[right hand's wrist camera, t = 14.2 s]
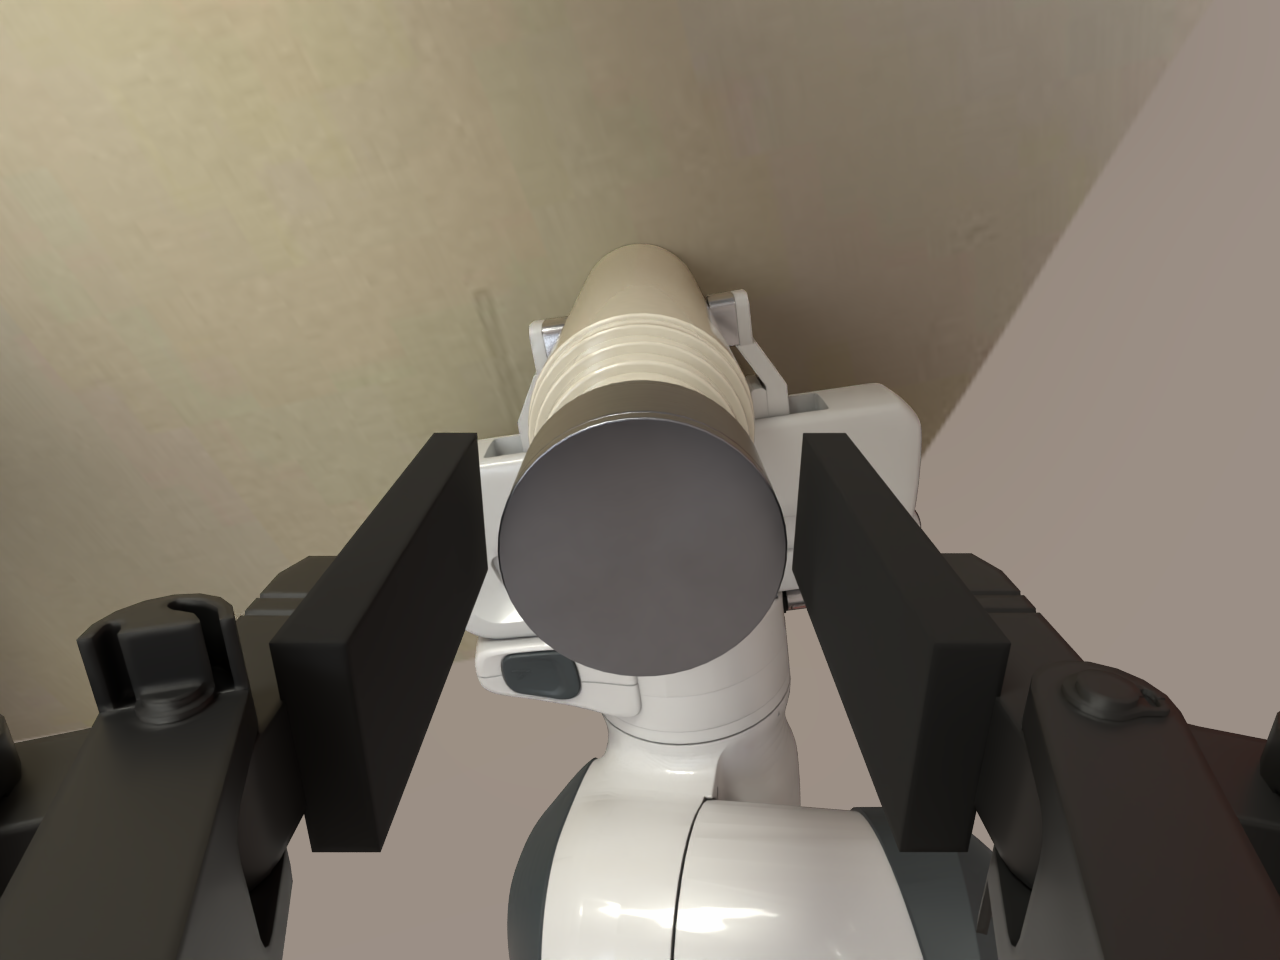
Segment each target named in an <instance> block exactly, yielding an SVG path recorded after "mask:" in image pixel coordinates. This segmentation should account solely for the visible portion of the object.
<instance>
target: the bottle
mask: <svg viewBox="0 0 1280 960" xmlns="http://www.w3.org/2000/svg"><path fill="white" fill-rule="evenodd" d="M632 380H652V381H662V382H667V383H672V384H676V385H680V386H683V387H686V388H689V389H691V390H694V391H697V392H699V393H700V394H702V395H704V396H706V397H708V398H710V399H712V400H713V401H715V402H716V403H717V404H719V405H720V406H722V407H723V408H724V409H726V410H727V411H728V412H729V413H730V414H731V415H732V416H733V417H734V418H735V419H736V420H737V421H738V422H739V423H740V425H741V426H742V427H743V428H744V430H745V431H746V432H747V434H748V435H749V437H750V439H751V440H752V442H753V444H754V441H755V415H754V406H753V400H752V396H751V392H750V388H749V386H748V384H747V381H746V379H745V376H744V374H743V372H742V370H741V368H740V366H739V364H738V362H737V360H736V359H735V357H734V355H733V353H732V351H731V349H730V347H729V345H728V343H727V341H726V339H725V337H724V335H723V333H722V331H721V329H720V327H719V325H718V324H717V322H716V320H715V318H714V316H713V314H712V312H711V310H710V308H709V306H708V304H707V302H706V300H705V298H704V296H703V294H702V292H701V291H700V289H699V287H698V285H697V283H696V281H695V279H694V277H693V275H692V273H691V272H690V270H689V269H688V267H687V266H686V265H685V264H684V263H683V262H682V261H681V260H680V259H679V258H678V257H677V256H676V255H674V254H673V253H671V252H670V251H668V250H666V249H664V248H661V247H658V246H655V245H650V244H631V245H626V246H623V247H620V248H617V249H615V250H613V251H611V252H610V253H608V254H607V255H605V256H604V257H603V258H602V259H600V260H599V261H598V262H597V264H596V265H595V266H594V267H593V269H592V270H591V272H590V273H589V275H588V277H587V279H586V281H585V283H584V285H583V287H582V289H581V291H580V293H579V295H578V297H577V299H576V301H575V303H574V305H573V308H572V310H571V312H570V314H569V316H568V318H567V320H566V322H565V324H564V326H563V328H562V330H561V332H560V334H559V336H558V338H557V340H556V342H555V344H554V346H553V348H552V350H551V352H550V354H549V356H548V358H547V360H546V362H545V364H544V366H543V368H542V371H541V373H540V375H539V377H538V379H537V381H536V383H535V386H534V389H533V392H532V395H531V400H530V406H529V416H528V438H529V446H530V444H531V442H532V440H533V439H534V437H535V436H536V434H537V433H538V432H539V430H540V429H541V427H542V426H543V425H544V424H545V423H546V422H547V421H548V419H549V418H550V417H551V416H552V415H553V414H554V413H556V412H557V411H558V410H559V409H560V408H562V407H563V406H564V405H565V404H567V403H568V402H570V401H572V400H573V399H575V398H576V397H578V396H580V395H582V394H584V393H586V392H588V391H591V390H593V389H595V388H598V387H602V386H605V385H608V384H612V383H617V382H624V381H632Z"/></svg>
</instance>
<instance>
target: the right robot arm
mask: <svg viewBox="0 0 1280 960" xmlns="http://www.w3.org/2000/svg"><path fill="white" fill-rule="evenodd" d="M487 571H488V561H487V549H486V537H485V525H484V512H483V500H482V488H481V476H480V464H479V451H478V439H477V433H434V434H433V435H432V436H431V437H430V439H429V440H428V441H427V443H426V444H425V445H424V446H423V448H422V449H421V450H420V451H419V453H418V454H417V455H416V457H415V458H414V459H413V460H412V462H411V463H410V464H409V465H408V467H407V468H406V469H405V471H404V472H403V473H402V474H401V476H400V477H399V478H398V479H397V481H396V482H395V483H394V484H393V486H392V487H391V488H390V490H389V491H388V492H387V493H386V495H385V496H384V497H383V498H382V500H381V501H380V502H379V504H378V505H377V506H376V507H375V509H374V510H373V511H372V512H371V514H370V515H369V516H368V517H367V519H366V520H365V521H364V523H363V524H362V525H361V526H360V528H359V529H358V530H357V531H356V533H355V534H354V535H353V537H352V538H351V539H350V540H349V542H348V543H347V544H346V545H345V547H344V548H343V549H342V551H341V552H340V553H339V554H338V556H308V557H306V558H305V559H303V560H301V561H299V562H298V563H296V564H294V565H293V566H291V567H289V568H287V569H286V570H284V571H282V572H280V573H279V574H278V575H277V576H276V577H275V578H274V579H273V580H272V581H271V583H270V584H269V585H268V586H267V587H266V588H265V589H264V590H263V592H262V593H261V594H260V598H256V599H255V600H254V602H253V603H252V604H251V605H250V606H249V607H248V608H247V609H246V610H245V615H244V616H240V617H239V618H238V619H237V620H235V616H234V611H233V607H232V605H231V604H229V603H228V602H226V601H225V600H224V599H222V598H221V597H217V596H211V595H206V594H179V595H170V596H165V597H161V598H156V599H151V600H146V601H143V602H140V603H137V604H134V605H132V606H129V607H126V608H123V609H121V610H118V611H115V612H114V613H112V614H110V615H108V616H107V617H105V618H103V619H101V620H100V621H98V622H96V623H94V624H92V625H91V626H90V627H89V628H88V629H87V630H86V631H85V632H84V633H83V634H82V635H81V636H80V637H79V638H78V639H77V640H76V641H77V644H78V647H79V650H80V653H81V656H82V660H83V663H84V666H85V669H86V672H87V675H88V679H89V682H90V685H91V688H92V691H93V694H94V698H95V701H96V704H97V707H98V710H99V715H98V716H97V718H96V720H95V722H94V724H93V726H92V728H88V729H84V730H79V731H74V732H69V733H64V734H59V735H54V736H49V737H44V738H38V739H33V740H28V741H23V742H18V743H14V742H13V739H12V737H11V734H10V731H9V729H8V726H7V723H6V721H5V718H4V716H2V715H1V714H0V960H282V956H283V949H284V941H285V934H286V927H287V919H288V912H289V904H290V897H291V889H292V882H293V880H292V873H291V866H290V861H289V856H288V852H287V845H288V843H289V841H290V839H291V837H292V836H293V834H294V832H295V830H296V828H297V826H298V824H299V822H300V820H301V818H302V816H303V815H305V820H306V825H307V829H308V834H309V839H310V844H311V849H312V852H381V849H382V847H383V844H384V842H385V839H386V836H387V834H388V831H389V828H390V826H391V823H392V820H393V818H394V815H395V813H396V810H397V807H398V805H399V802H400V800H401V797H402V794H403V792H404V789H405V786H406V784H407V781H408V779H409V776H410V773H411V771H412V768H413V765H414V763H415V760H416V757H417V755H418V752H419V750H420V747H421V744H422V742H423V739H424V737H425V734H426V731H427V729H428V726H429V723H430V721H431V718H432V715H433V713H434V710H435V708H436V705H437V703H438V700H439V697H440V695H441V692H442V689H443V687H444V684H445V682H446V679H447V676H448V674H449V671H450V668H451V666H452V663H453V661H454V658H455V655H456V653H457V650H458V647H459V645H460V642H461V640H462V637H463V634H464V632H465V629H466V626H467V624H468V621H469V619H470V616H471V613H472V611H473V608H474V605H475V603H476V600H477V598H478V595H479V592H480V590H481V587H482V585H483V582H484V579H485V577H486V574H487ZM792 571H793V574H794V577H795V579H796V582H797V585H798V587H799V590H800V592H801V595H802V598H803V600H804V603H805V606H806V608H807V611H808V613H809V616H810V619H811V621H812V624H813V627H814V629H815V632H816V634H817V637H818V639H819V642H820V645H821V647H822V650H823V653H824V655H825V658H826V661H827V663H828V666H829V668H830V671H831V674H832V676H833V679H834V682H835V684H836V687H837V689H838V692H839V695H840V697H841V700H842V703H843V705H844V708H845V710H846V713H847V716H848V718H849V721H850V724H851V726H852V729H853V731H854V734H855V737H856V739H857V742H858V745H859V747H860V750H861V752H862V755H863V757H864V760H865V763H866V765H867V768H868V771H869V773H870V776H871V778H872V781H873V784H874V786H875V789H876V792H877V794H878V797H879V800H880V802H881V805H882V807H883V810H884V813H885V815H886V818H887V821H888V823H889V826H890V828H891V831H892V834H893V836H894V839H895V842H896V844H897V847H898V849H899V852H968V849H969V844H970V839H971V834H972V829H973V825H974V820H975V815H976V811H977V812H978V814H979V816H980V818H981V820H982V822H983V824H984V826H985V828H986V829H987V831H988V833H989V835H990V837H991V839H992V841H993V843H994V848H993V852H992V856H991V861H990V865H989V870H988V874H987V879H986V883H985V888H984V892H983V896H982V901H981V905H980V910H979V914H978V921H977V928H976V933H981V934H985V935H987V933H988V929H989V924H990V920H991V917H993V925H994V932H995V939H996V947H997V954H998V960H1280V711H1279V712H1278V713H1277V715H1276V718H1275V721H1274V723H1273V726H1272V729H1271V731H1270V734H1269V737H1268V739H1267V740H1266V739H1261V738H1255V737H1250V736H1245V735H1240V734H1235V733H1229V732H1224V731H1219V730H1214V729H1209V728H1204V727H1199V726H1195V725H1191V724H1187V722H1186V721H1185V719H1184V717H1183V715H1182V713H1181V712H1180V710H1179V709H1178V708H1177V707H1176V706H1175V705H1174V703H1173V702H1172V701H1171V700H1170V699H1169V697H1168V696H1167V695H1165V694H1164V693H1162V692H1161V691H1160V690H1158V689H1156V688H1155V687H1153V686H1152V685H1151V684H1149V683H1148V682H1146V681H1144V680H1143V679H1140V678H1138V677H1136V676H1133V675H1131V674H1129V673H1126V672H1124V671H1121V670H1119V669H1116V668H1113V667H1109V666H1104V665H1100V664H1096V663H1092V662H1084V661H1083V660H1082V659H1081V658H1080V657H1079V655H1078V654H1077V653H1076V652H1075V651H1074V650H1073V649H1072V648H1071V647H1070V646H1069V644H1068V643H1067V642H1066V641H1065V640H1064V639H1063V638H1062V637H1061V636H1060V634H1059V633H1058V632H1057V631H1056V630H1055V629H1054V628H1053V627H1052V626H1051V625H1050V623H1049V622H1048V621H1047V620H1046V619H1045V618H1044V617H1043V616H1042V615H1041V614H1040V613H1036V608H1035V607H1034V606H1033V605H1032V604H1031V602H1030V601H1029V600H1028V599H1027V598H1026V597H1025V596H1024V595H1020V590H1019V589H1018V588H1017V587H1016V586H1015V585H1014V584H1013V583H1012V581H1011V580H1010V579H1009V578H1008V577H1007V576H1006V575H1005V574H1004V573H1003V572H1002V571H1001V570H999V569H998V568H996V567H994V566H993V565H991V564H989V563H987V562H986V561H984V560H982V559H980V558H979V557H977V556H975V555H973V554H971V553H940V552H939V551H938V549H937V548H936V547H935V545H934V544H933V543H932V542H931V540H930V539H929V538H928V537H927V535H926V534H925V533H924V531H923V530H922V529H921V528H920V526H919V525H918V524H917V523H916V521H915V520H914V519H913V518H912V516H911V515H910V514H909V512H908V511H907V510H906V509H905V507H904V506H903V505H902V504H901V502H900V501H899V500H898V498H897V497H896V496H895V495H894V493H893V492H892V491H891V490H890V488H889V487H888V486H887V484H886V483H885V482H884V481H883V479H882V478H881V477H880V476H879V474H878V473H877V472H876V471H875V469H874V468H873V467H872V465H871V464H870V463H869V462H868V460H867V459H866V458H865V457H864V455H863V454H862V453H861V451H860V450H859V449H858V448H857V446H856V445H855V444H854V443H853V441H852V440H851V439H850V437H849V436H848V435H847V434H846V433H803V439H802V451H801V464H800V476H799V488H798V500H797V512H796V525H795V537H794V549H793V561H792Z"/></svg>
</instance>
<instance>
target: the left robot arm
mask: <svg viewBox="0 0 1280 960" xmlns="http://www.w3.org/2000/svg"><path fill="white" fill-rule="evenodd" d="M706 302H707V304H708V306H709V308H710V310H711V312H712V314H713V316H714V318H715V320H716V322H717V324H718V325H719V327H720V329H721V331H722V333H723V335H724V337H725V339H726V341H727V343H728V345H729V346H734V345H736V347H737V349H738V350H739V351H740V353H741V354H742V355H743V357H744V358H745V359H746V361H747V362H748V363H749V365H750V366H751V367H752V369H753V370H754V371H755V373H756V374H757V375H758V376H756V375H749V376H746V377H745V379H746V381H747V384H748V386H749V388H750V392H751V396H752V400H753V406H754V415H755V441H754V445H755V447H756V450H757V452H758V454H759V457H760V459H761V461H762V464H763V466H764V469H765V471H766V473H767V476H768V478H769V480H770V483H771V485H772V488H773V490H774V492H775V495H776V497H777V499H778V502H779V504H780V507H781V509H782V513H783V517H784V521H785V525H786V533H787V542H788V544H787V561H786V567H785V572H784V577H783V580H782V583H781V586H780V589H779V591H778V594H777V596H776V598H775V600H774V602H773V604H772V606H771V608H770V609H769V610H768V612H767V613H766V615H765V616H764V618H763V619H762V621H761V622H760V623H759V624H758V625H757V627H756V628H755V629H754V630H753V631H752V632H751V633H750V634H749V635H748V636H747V637H746V638H745V639H744V640H742V641H741V642H740V643H739V644H738V645H737V646H735V647H734V648H732V649H731V650H729V651H728V652H726V653H725V654H723V655H722V656H720V657H718V658H716V659H714V660H712V661H710V662H708V663H706V664H703V665H701V666H698V667H695V668H693V669H690V670H686V671H682V672H678V673H674V674H668V675H661V676H646V677H635V676H623V675H616V674H611V673H606V672H602V671H599V670H595V669H592V668H589V667H586V666H584V665H581V664H579V663H577V662H575V661H572V660H570V659H568V658H567V657H565V656H563V655H562V654H560V653H558V652H557V651H555V650H554V649H552V648H551V647H550V646H549V645H547V644H546V643H545V642H543V641H542V640H541V639H540V638H539V637H538V636H537V635H536V634H535V633H534V632H533V631H532V630H531V629H530V628H529V627H528V626H527V624H526V623H525V622H524V621H523V619H522V618H521V617H520V616H519V614H518V612H517V611H516V609H515V607H514V606H513V604H512V602H511V600H510V598H509V596H508V593H507V591H506V589H505V586H504V584H503V580H502V576H501V572H500V568H499V560H498V532H499V527H500V521H501V516H502V514H503V511H504V508H505V505H506V502H507V499H508V497H509V494H510V492H511V489H512V487H513V484H514V482H515V479H516V477H517V474H518V472H519V469H520V467H521V464H522V462H523V459H524V457H525V454H526V452H527V450H528V448H529V438H528V416H529V406H530V400H531V395H532V392H533V389H534V386H535V383H536V381H537V379H538V377H539V375H540V373H541V371H542V368H543V366H544V364H545V362H546V360H547V358H548V356H549V354H550V352H551V350H552V348H553V346H554V344H555V342H556V340H557V338H558V336H559V334H560V332H561V330H562V328H563V326H564V324H565V322H566V320H567V318H568V316H564V317H557V318H550V319H542V320H536V321H532V322H531V324H530V325H529V337H530V343H531V348H532V353H533V358H534V363H535V367H536V372H535V374H534V377H533V379H532V382H531V385H530V388H529V391H528V394H527V397H526V400H525V402H524V405H523V408H522V411H521V414H520V417H519V420H518V428H519V433H520V434H514V435H507V436H500V437H493V438H486V439H479V440H478V451H479V464H480V476H481V488H482V500H483V512H484V525H485V537H486V549H487V561H488V571H487V574H486V577H485V579H484V582H483V585H482V587H481V590H480V592H479V595H478V598H477V600H476V603H475V605H474V608H473V611H472V613H471V616H470V619H469V621H468V624H467V626H466V629H465V630H466V631H468V632H470V633H472V634H474V635H477V636H479V637H478V642H477V648H476V656H475V668H476V673H477V677H478V679H479V682H480V683H481V685H482V686H483V687H484V688H485V689H486V690H488V691H490V692H492V693H495V694H500V695H506V696H513V697H520V698H528V699H535V700H542V701H548V702H554V703H560V704H565V705H571V706H575V707H580V708H584V709H589V710H592V711H596V712H600V713H602V715H603V717H604V719H605V721H606V724H607V728H608V736H609V737H608V744H607V748H606V752H605V754H604V755H603V756H602V757H601V758H599V759H597V758H593V759H592V760H591V761H589V762H588V763H587V764H586V765H585V766H584V767H583V768H582V769H581V770H580V771H579V772H578V773H577V774H576V775H575V776H574V778H573V779H572V780H571V781H570V782H569V783H568V785H567V786H566V787H565V788H564V789H563V791H562V792H561V793H560V794H559V796H558V797H557V798H556V799H555V800H554V802H553V803H552V804H551V805H550V806H549V808H548V809H547V810H546V811H545V812H544V814H543V815H542V816H541V818H540V819H539V820H538V822H537V824H536V825H535V827H534V828H533V830H532V832H531V834H530V835H529V837H528V840H527V842H526V844H525V846H524V848H523V851H522V853H521V856H520V858H519V861H518V864H517V867H516V870H515V873H514V876H513V880H512V884H511V889H510V895H509V904H508V922H507V926H508V929H507V930H508V949H509V958H510V960H998V954H997V947H996V939H995V932H994V925H993V917H991V920H990V924H989V929H988V933H987V935H985V934H981V933H976V928H977V921H978V914H979V910H980V905H981V901H982V896H983V892H984V888H985V883H986V879H987V874H988V870H989V865H990V861H991V856H992V851H991V850H990V849H989V848H988V847H987V846H986V845H984V844H983V843H982V842H981V841H980V840H979V839H978V838H976V837H975V836H974V835H973V834H971V839H970V844H969V849H968V852H899V849H898V847H897V844H896V842H895V839H894V836H893V834H892V831H891V828H890V826H889V823H888V821H887V818H886V815H885V813H884V810H883V807H854V808H852V809H851V810H837V809H825V808H812V807H800V778H799V764H798V753H797V747H796V742H795V739H794V736H793V733H792V730H791V728H790V726H789V724H788V722H787V720H786V717H785V708H786V705H787V701H788V697H789V693H790V668H789V657H788V646H787V635H786V627H785V617H784V613H786V611H788V610H796V609H803V608H806V606H805V603H804V600H803V598H802V595H801V592H800V590H799V587H798V585H797V582H796V579H795V577H794V574H793V571H792V561H793V549H794V537H795V525H796V512H797V500H798V488H799V476H800V464H801V451H802V439H803V433H846V434H847V435H848V436H849V437H850V439H851V440H852V441H853V443H854V444H855V445H856V446H857V448H858V449H859V450H860V451H861V453H862V454H863V455H864V457H865V458H866V459H867V460H868V462H869V463H870V464H871V465H872V467H873V468H874V469H875V471H876V472H877V473H878V474H879V476H880V477H881V478H882V479H883V481H884V482H885V483H886V484H887V486H888V487H889V488H890V490H891V491H892V492H893V493H894V495H895V496H896V497H897V498H898V500H899V501H900V502H901V504H902V505H903V506H904V507H905V509H906V510H907V511H908V512H909V514H910V515H911V516H912V518H913V519H914V520H915V521H916V523H917V524H918V525H919V526H920V528H921V522H920V518H919V516H918V514H917V512H916V510H915V505H916V499H917V492H918V484H919V475H920V463H921V446H922V429H921V423H920V420H919V418H918V416H917V414H916V413H915V412H914V410H913V409H912V408H911V407H910V406H909V405H908V404H907V403H906V402H905V401H904V400H903V399H902V398H901V397H900V396H898V395H897V394H896V393H894V392H893V391H892V390H890V389H889V388H887V387H886V386H884V385H882V384H880V383H868V384H861V385H854V386H847V387H840V388H833V389H826V390H819V391H812V392H805V393H798V394H791V395H788V390H787V383H786V382H785V380H784V379H783V378H782V376H781V375H780V373H779V372H778V370H777V369H776V368H775V366H774V365H773V363H772V362H771V361H770V359H769V358H768V357H767V355H766V354H765V353H764V351H763V350H762V349H761V347H760V346H759V345H758V343H757V342H756V340H755V339H754V338H753V335H752V325H751V315H750V305H749V299H748V295H747V292H746V291H745V290H744V289H740V290H733V291H727V292H721V293H715V294H709V295H706Z"/></svg>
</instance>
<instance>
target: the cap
mask: <svg viewBox="0 0 1280 960" xmlns="http://www.w3.org/2000/svg"><path fill="white" fill-rule="evenodd" d="M787 544H788V542H787V533H786V525H785V521H784V517H783V513H782V509H781V507H780V504H779V502H778V499H777V497H776V495H775V492H774V490H773V488H772V485H771V483H770V480H769V478H768V476H767V473H766V471H765V469H764V466H763V464H762V461H761V459H760V457H759V454H758V452H757V450H756V447H755V445H754V444H753V442H752V440H751V439H750V437H749V435H748V434H747V432H746V431H745V430H744V428H743V427H742V426H741V425H740V423H739V422H738V421H737V420H736V419H735V418H734V417H733V416H732V415H731V414H730V413H729V412H728V411H727V410H726V409H724V408H723V407H722V406H720V405H719V404H717V403H716V402H715V401H713V400H712V399H710V398H708V397H706V396H704V395H702V394H700V393H699V392H697V391H694V390H691V389H689V388H686V387H683V386H680V385H676V384H672V383H667V382H662V381H652V380H632V381H624V382H617V383H612V384H608V385H605V386H602V387H598V388H595V389H593V390H591V391H588V392H586V393H584V394H582V395H580V396H578V397H576V398H575V399H573V400H572V401H570V402H568V403H567V404H565V405H564V406H563V407H562V408H560V409H559V410H558V411H557V412H556V413H554V414H553V415H552V416H551V417H550V418H549V419H548V421H547V422H546V423H545V424H544V425H543V426H542V427H541V429H540V430H539V432H538V433H537V434H536V436H535V437H534V439H533V440H532V442H531V444H530V446H529V448H528V450H527V452H526V454H525V457H524V459H523V462H522V464H521V467H520V469H519V472H518V474H517V477H516V479H515V482H514V484H513V487H512V489H511V492H510V494H509V497H508V499H507V502H506V505H505V508H504V511H503V514H502V516H501V521H500V527H499V532H498V560H499V568H500V572H501V576H502V580H503V584H504V586H505V589H506V591H507V593H508V596H509V598H510V600H511V602H512V604H513V606H514V607H515V609H516V611H517V612H518V614H519V616H520V617H521V618H522V619H523V621H524V622H525V623H526V624H527V626H528V627H529V628H530V629H531V630H532V631H533V632H534V633H535V634H536V635H537V636H538V637H539V638H540V639H541V640H542V641H543V642H545V643H546V644H547V645H549V646H550V647H551V648H552V649H554V650H555V651H557V652H558V653H560V654H562V655H563V656H565V657H567V658H568V659H570V660H572V661H575V662H577V663H579V664H581V665H584V666H586V667H589V668H592V669H595V670H599V671H602V672H606V673H611V674H616V675H623V676H635V677H646V676H661V675H668V674H674V673H678V672H682V671H686V670H690V669H693V668H695V667H698V666H701V665H703V664H706V663H708V662H710V661H712V660H714V659H716V658H718V657H720V656H722V655H723V654H725V653H726V652H728V651H729V650H731V649H732V648H734V647H735V646H737V645H738V644H739V643H740V642H741V641H742V640H744V639H745V638H746V637H747V636H748V635H749V634H750V633H751V632H752V631H753V630H754V629H755V628H756V627H757V625H758V624H759V623H760V622H761V621H762V619H763V618H764V616H765V615H766V613H767V612H768V610H769V609H770V608H771V606H772V604H773V602H774V600H775V598H776V596H777V594H778V591H779V589H780V586H781V583H782V580H783V577H784V572H785V567H786V561H787Z"/></svg>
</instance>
